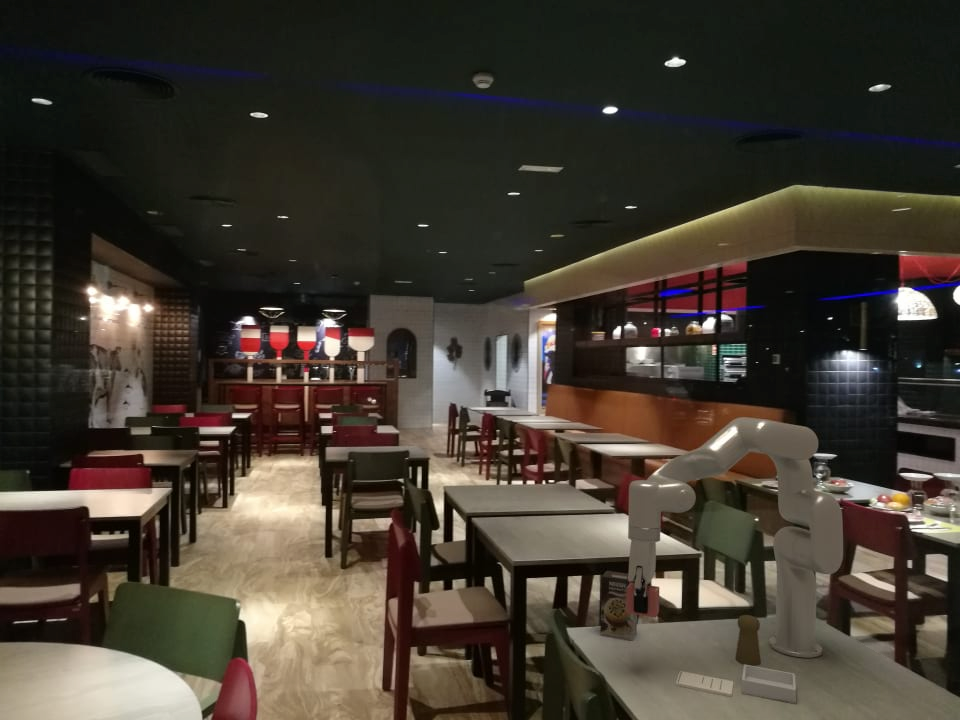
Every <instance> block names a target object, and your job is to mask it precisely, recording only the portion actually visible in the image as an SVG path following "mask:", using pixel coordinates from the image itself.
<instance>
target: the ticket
mask: <svg viewBox="0 0 960 720" xmlns="http://www.w3.org/2000/svg"><path fill="white" fill-rule="evenodd" d="M675 686H676V687H680V688H685V689H690V690H691V689H692V690H695V691H701V692H705V693H709V694H710V693H711V694H715V695H719V696H720V695H721V696H724V697H730V698H732V696H733V691H734V690H733V689H734V681H733V680H728V679H724V678H719V677H718V678H717V677H713V676H708V675H703V674H697V673H692V672H687V671H683V670H680V671H679V673H678V676H677V679H676V681H675Z"/></svg>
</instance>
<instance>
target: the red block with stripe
mask: <svg viewBox="0 0 960 720" xmlns="http://www.w3.org/2000/svg"><path fill="white" fill-rule="evenodd" d="M642 587H643V589H644V586H642ZM634 589H635V583H630V584H629V585H628V586H627V588H626V613H630V614H636V615H637V616H643V617H649V618H655V619H656V618H657V616H658V615H659V613H660V586H656V585H652V586H650V585H647V596H648V613H647V614H643V613H637V612H634Z"/></svg>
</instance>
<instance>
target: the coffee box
mask: <svg viewBox="0 0 960 720" xmlns="http://www.w3.org/2000/svg"><path fill="white" fill-rule="evenodd" d="M628 574H629V573H624V572H618V571H612V570H606V571H605V572H604V573H603V575H602V576H601V577H602V578H601V579H602V580H601V604H600V605H601V606H600V607H601V609H600V635H601V636H605V637H610V638H616V639H621V640H627V641H631V642H632V641H634V639H635V637H636V635H637V632H638V631H637V630H638V629H637V628H638V627H637V626H638V615H636V614H630V613H626V588H627V586H628V585H629V584H630V583H635V579H634V580H633V581H632V582H629V581H628Z"/></svg>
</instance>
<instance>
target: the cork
mask: <svg viewBox="0 0 960 720" xmlns="http://www.w3.org/2000/svg"><path fill="white" fill-rule="evenodd" d="M760 625H761V623H760V620H759V619H758V618H757V617H756V616H753V615H749V614H743V615H740V616H739V617H738V618H737V626H738V628H739V633H738V639H737V645H736V649H735V650H736V652H735V656H734V657H735V661H736V662H737V663H739V664H742V665H744V664H745V665H750V666H756V667H759V666H760V665H761V664H762V661H761V654H760V651H761V650H760V645H759V636H758V635H759V634H758V631H760Z"/></svg>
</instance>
